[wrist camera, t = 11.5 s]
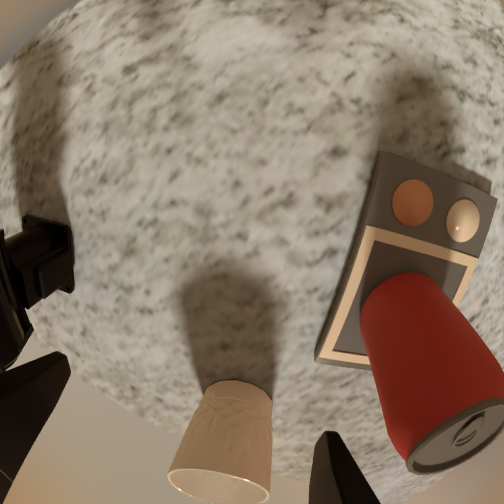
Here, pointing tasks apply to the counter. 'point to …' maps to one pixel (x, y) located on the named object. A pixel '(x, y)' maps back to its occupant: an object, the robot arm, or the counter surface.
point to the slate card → (406, 246)
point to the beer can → (431, 374)
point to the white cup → (227, 446)
